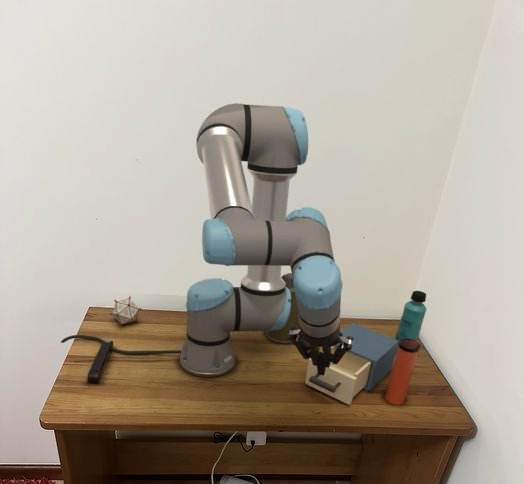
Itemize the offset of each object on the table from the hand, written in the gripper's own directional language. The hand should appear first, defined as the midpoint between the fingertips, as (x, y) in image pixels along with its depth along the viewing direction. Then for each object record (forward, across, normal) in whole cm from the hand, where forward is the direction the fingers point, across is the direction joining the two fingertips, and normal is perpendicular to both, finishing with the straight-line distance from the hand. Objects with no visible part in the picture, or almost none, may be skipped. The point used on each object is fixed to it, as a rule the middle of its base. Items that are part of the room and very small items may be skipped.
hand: (322, 369), depth 111 cm
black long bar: (+10, +58, +6) cm, 60 cm away
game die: (+23, +64, -13) cm, 69 cm away
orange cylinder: (+22, -18, -4) cm, 29 cm away
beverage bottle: (+38, -19, -25) cm, 49 cm away
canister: (+33, +18, -22) cm, 43 cm away
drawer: (+20, -2, -4) cm, 20 cm away
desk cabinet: (+28, -7, -13) cm, 31 cm away
